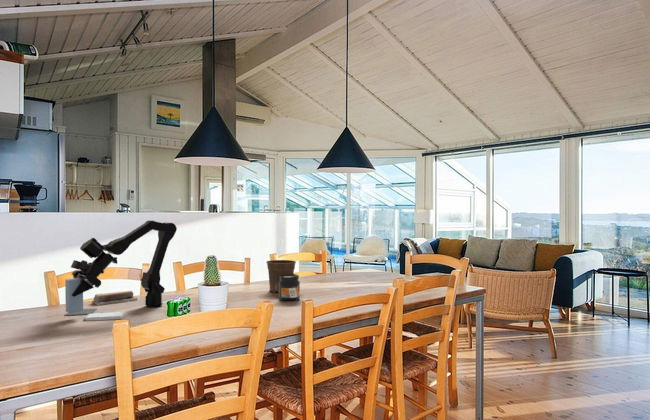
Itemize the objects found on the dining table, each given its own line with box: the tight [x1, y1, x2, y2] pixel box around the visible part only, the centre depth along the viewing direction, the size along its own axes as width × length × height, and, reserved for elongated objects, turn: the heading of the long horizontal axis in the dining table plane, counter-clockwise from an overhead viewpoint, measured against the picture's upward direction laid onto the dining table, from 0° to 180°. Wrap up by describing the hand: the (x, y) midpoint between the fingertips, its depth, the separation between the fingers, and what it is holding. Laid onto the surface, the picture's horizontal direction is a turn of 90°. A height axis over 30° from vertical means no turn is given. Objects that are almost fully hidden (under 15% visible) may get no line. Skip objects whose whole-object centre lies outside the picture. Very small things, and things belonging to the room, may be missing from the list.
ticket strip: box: [83, 311, 126, 322], centre depth 183 cm, size 14×7×1 cm, turn 103°
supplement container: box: [278, 273, 301, 302], centre depth 221 cm, size 10×10×12 cm
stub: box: [64, 278, 84, 313], centre depth 181 cm, size 5×5×13 cm
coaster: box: [63, 308, 98, 317], centre depth 192 cm, size 10×10×1 cm
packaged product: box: [91, 290, 138, 306], centre depth 216 cm, size 18×5×10 cm
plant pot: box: [266, 259, 297, 293], centre depth 244 cm, size 16×16×16 cm
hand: (70, 295), depth 180 cm, fingers closed on stub, 5 cm apart
